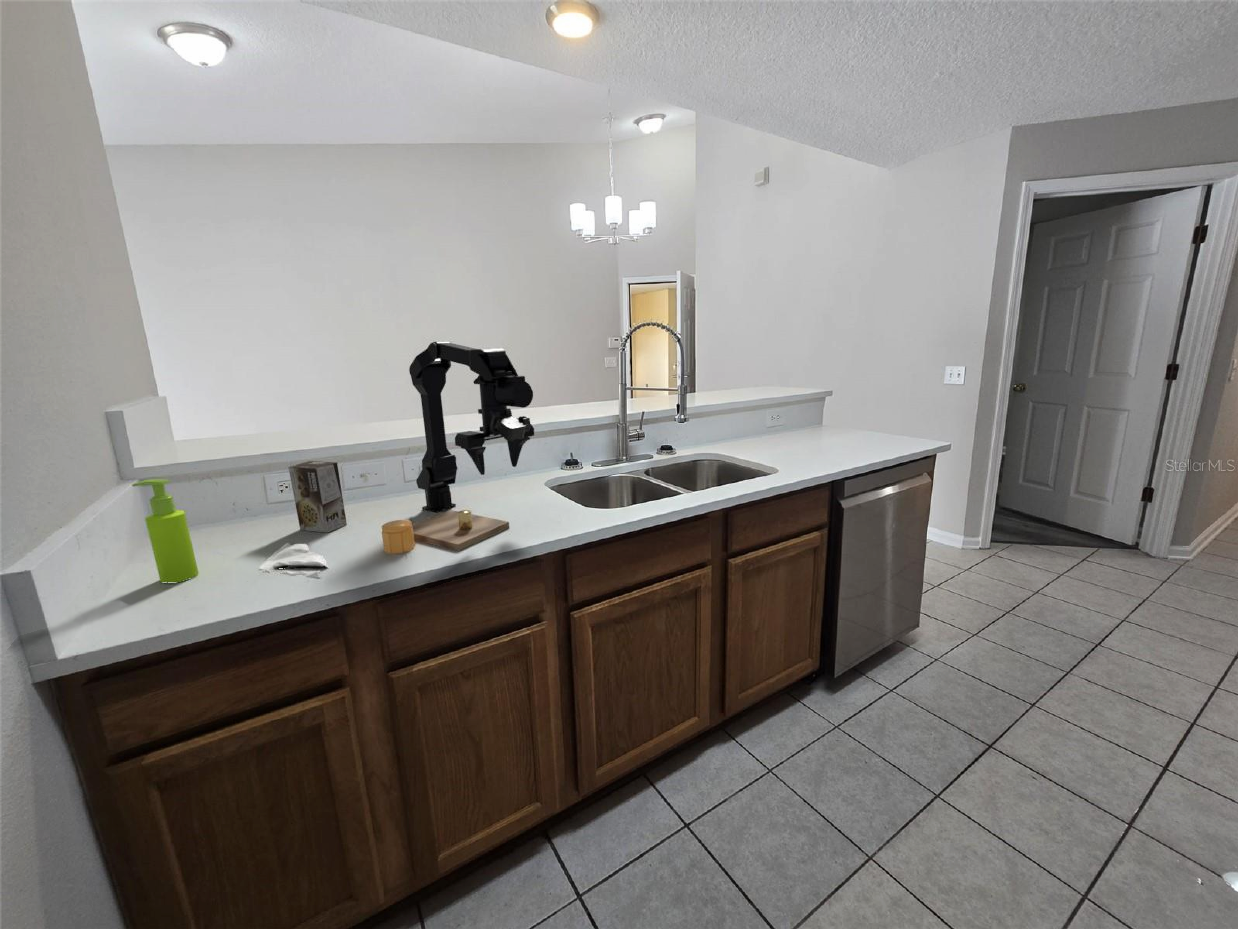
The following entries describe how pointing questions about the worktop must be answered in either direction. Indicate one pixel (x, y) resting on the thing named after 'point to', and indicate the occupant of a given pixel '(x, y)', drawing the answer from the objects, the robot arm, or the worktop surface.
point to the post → (465, 520)
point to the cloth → (294, 561)
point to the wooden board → (456, 530)
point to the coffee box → (318, 496)
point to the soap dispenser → (169, 536)
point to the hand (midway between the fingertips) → (498, 470)
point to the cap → (398, 536)
